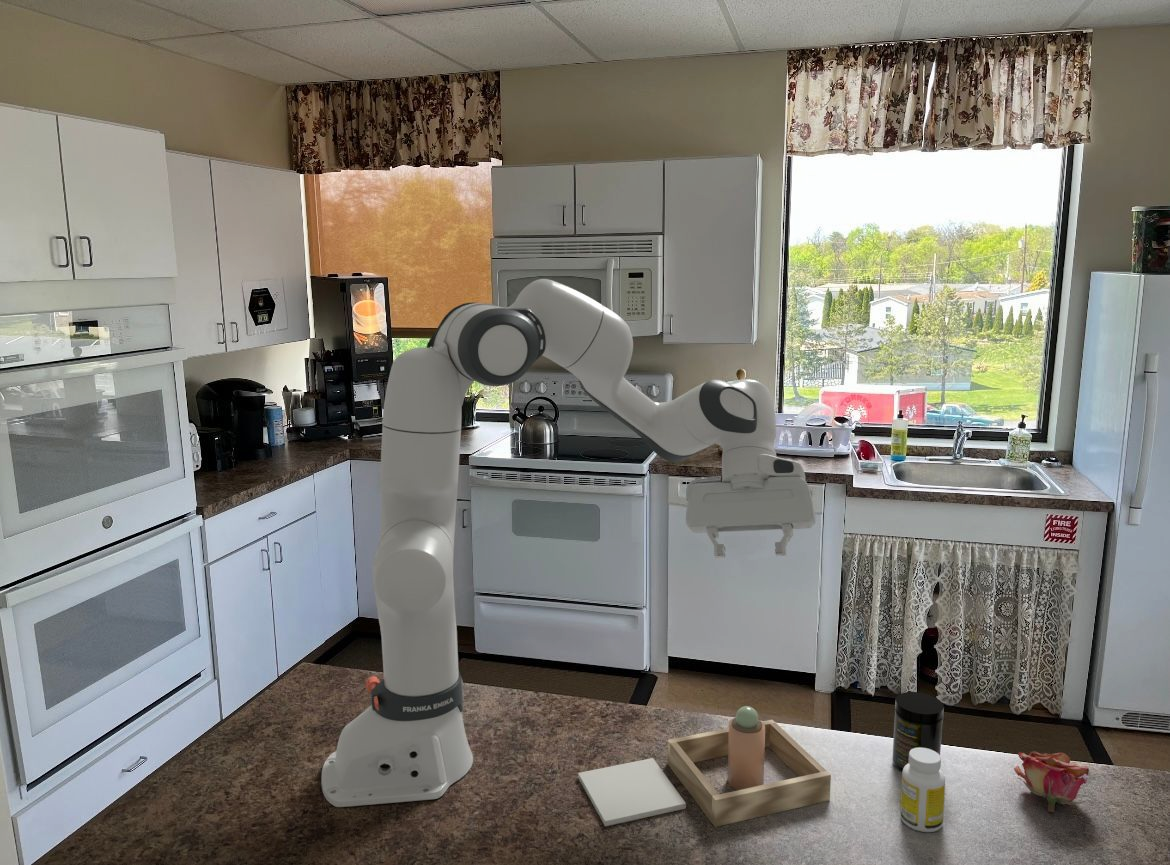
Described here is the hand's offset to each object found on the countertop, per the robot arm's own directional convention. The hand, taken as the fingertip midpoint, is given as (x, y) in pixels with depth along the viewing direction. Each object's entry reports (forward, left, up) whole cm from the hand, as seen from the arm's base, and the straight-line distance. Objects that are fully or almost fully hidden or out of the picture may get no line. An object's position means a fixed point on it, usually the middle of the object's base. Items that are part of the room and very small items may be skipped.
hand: (749, 555), depth 132 cm
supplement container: (+20, -17, -30) cm, 40 cm away
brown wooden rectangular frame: (-6, -12, -30) cm, 33 cm away
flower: (+32, -30, -31) cm, 53 cm away
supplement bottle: (+12, -28, -31) cm, 43 cm away
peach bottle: (-6, -12, -30) cm, 33 cm away
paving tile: (-23, -9, -30) cm, 39 cm away
